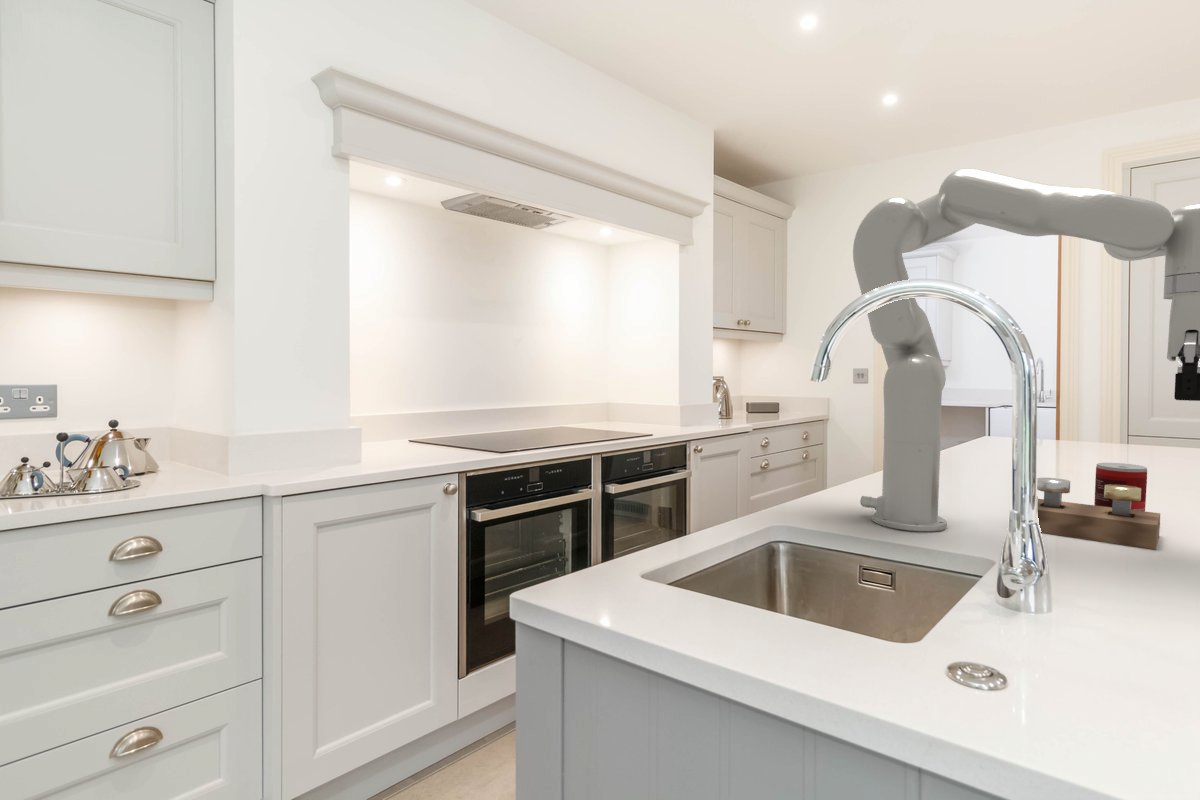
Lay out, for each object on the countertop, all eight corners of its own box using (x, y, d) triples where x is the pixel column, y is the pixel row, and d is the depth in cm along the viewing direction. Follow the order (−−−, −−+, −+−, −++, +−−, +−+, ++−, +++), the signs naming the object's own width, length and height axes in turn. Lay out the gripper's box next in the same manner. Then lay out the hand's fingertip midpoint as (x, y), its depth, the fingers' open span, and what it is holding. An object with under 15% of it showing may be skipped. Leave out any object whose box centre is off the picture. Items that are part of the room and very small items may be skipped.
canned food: (1141, 521, 128) (1144, 464, 127) (1147, 530, 121) (1150, 470, 121) (1091, 516, 132) (1094, 461, 132) (1095, 524, 125) (1098, 466, 125)
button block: (1013, 528, 122) (1014, 506, 121) (1026, 517, 130) (1026, 497, 130) (1155, 549, 108) (1156, 525, 108) (1159, 535, 117) (1160, 513, 117)
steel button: (1033, 512, 122) (1035, 479, 122) (1038, 508, 126) (1040, 476, 126) (1066, 516, 119) (1068, 483, 119) (1070, 512, 123) (1072, 479, 122)
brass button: (1101, 521, 116) (1103, 487, 115) (1104, 516, 119) (1106, 483, 119) (1138, 526, 112) (1140, 490, 112) (1140, 521, 116) (1142, 487, 116)
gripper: (1168, 294, 111) (1163, 396, 112) (1159, 284, 98) (1153, 400, 99) (1230, 290, 106) (1224, 398, 107) (1228, 280, 93) (1222, 402, 94)
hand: (1190, 399), depth 103 cm, fingers open, 9 cm apart
